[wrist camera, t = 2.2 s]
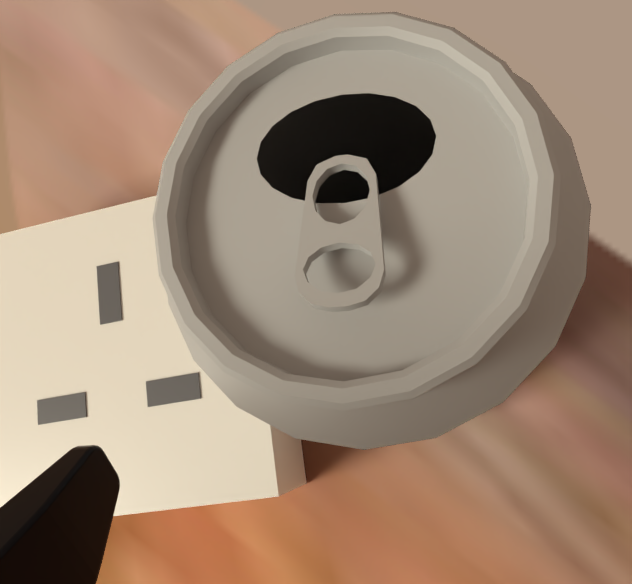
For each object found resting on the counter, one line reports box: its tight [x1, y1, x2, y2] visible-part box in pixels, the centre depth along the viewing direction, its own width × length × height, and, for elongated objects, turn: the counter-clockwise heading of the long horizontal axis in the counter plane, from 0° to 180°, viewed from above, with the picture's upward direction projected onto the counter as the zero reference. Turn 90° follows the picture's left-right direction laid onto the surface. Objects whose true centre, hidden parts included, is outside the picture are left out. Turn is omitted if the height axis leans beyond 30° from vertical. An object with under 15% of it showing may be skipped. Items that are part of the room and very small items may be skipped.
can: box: [153, 12, 591, 450], centre depth 14 cm, size 8×8×12 cm
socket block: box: [0, 196, 307, 516], centre depth 21 cm, size 10×10×3 cm
